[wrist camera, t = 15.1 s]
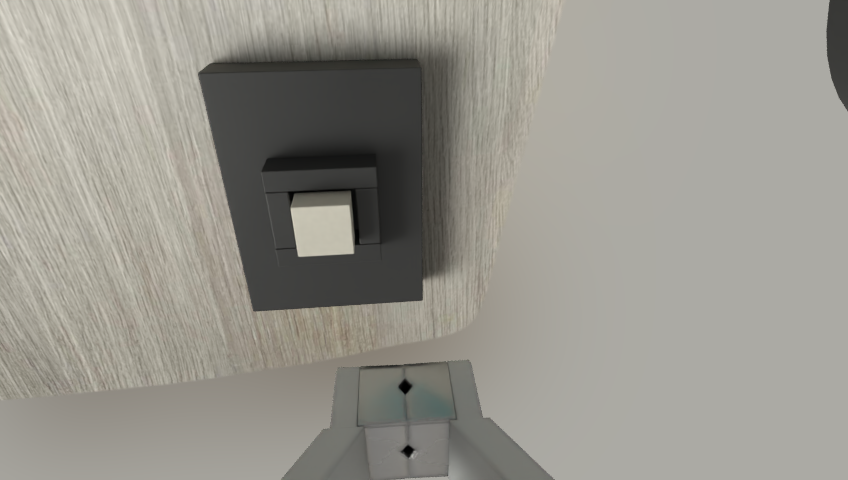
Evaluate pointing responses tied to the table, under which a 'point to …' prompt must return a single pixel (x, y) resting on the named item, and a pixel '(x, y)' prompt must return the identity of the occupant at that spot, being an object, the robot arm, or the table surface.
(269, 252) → the button base
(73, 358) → the table surface
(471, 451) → the robot arm
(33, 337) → the table surface
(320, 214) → the push button
